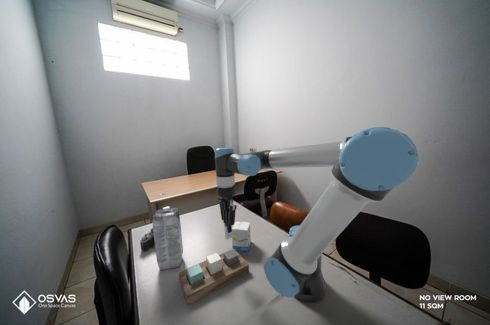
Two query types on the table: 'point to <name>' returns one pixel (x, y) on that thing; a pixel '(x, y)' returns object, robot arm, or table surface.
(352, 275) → the table surface
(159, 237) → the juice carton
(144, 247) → the camera
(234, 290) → the table surface
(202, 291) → the keypad base
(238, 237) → the ink box
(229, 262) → the block
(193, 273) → the key teal
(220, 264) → the key ivory
